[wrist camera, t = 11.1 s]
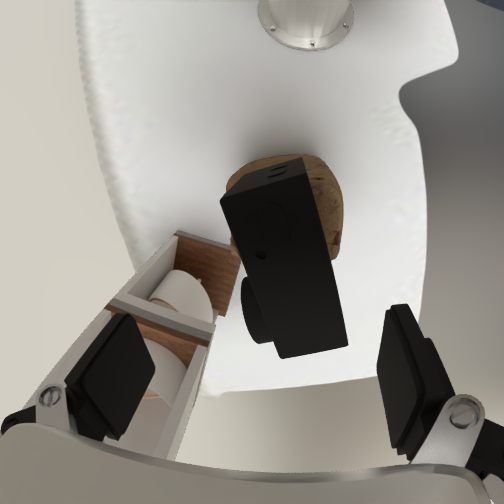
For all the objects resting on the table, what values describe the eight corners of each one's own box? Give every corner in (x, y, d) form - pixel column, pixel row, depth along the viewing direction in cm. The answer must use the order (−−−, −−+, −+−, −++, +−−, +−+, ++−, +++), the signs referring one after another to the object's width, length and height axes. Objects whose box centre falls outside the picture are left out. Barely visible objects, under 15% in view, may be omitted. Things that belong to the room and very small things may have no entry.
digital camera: (225, 178, 20) (194, 205, 14) (301, 154, 19) (306, 170, 12) (270, 302, 24) (261, 363, 17) (336, 286, 22) (349, 347, 16)
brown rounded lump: (323, 152, 37) (351, 179, 19) (324, 206, 40) (348, 276, 22) (242, 156, 39) (196, 186, 21) (247, 209, 42) (210, 279, 24)
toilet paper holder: (227, 309, 49) (156, 513, 18) (168, 290, 49) (57, 466, 18) (244, 250, 44) (156, 486, 13) (177, 230, 44) (19, 413, 13)
